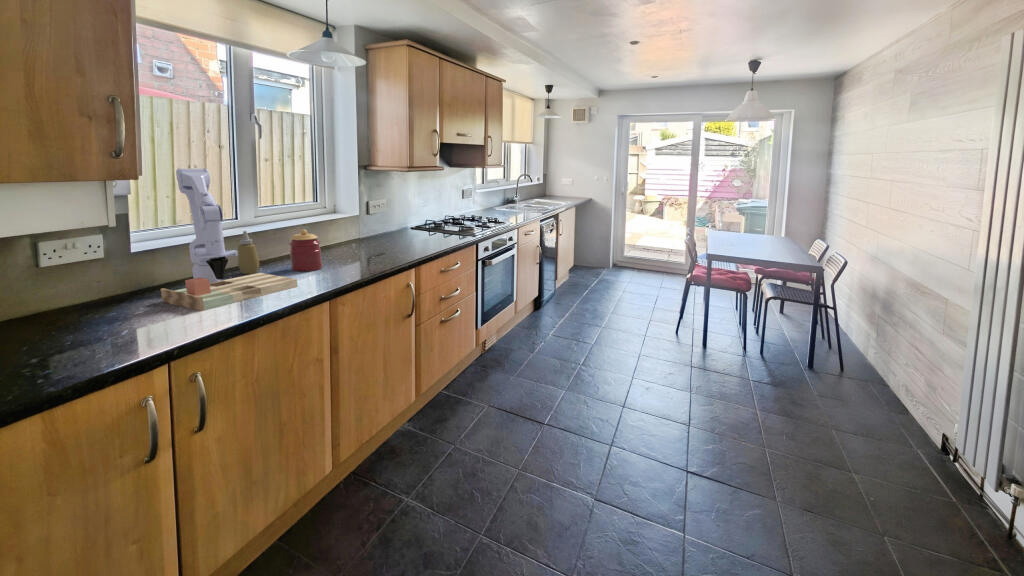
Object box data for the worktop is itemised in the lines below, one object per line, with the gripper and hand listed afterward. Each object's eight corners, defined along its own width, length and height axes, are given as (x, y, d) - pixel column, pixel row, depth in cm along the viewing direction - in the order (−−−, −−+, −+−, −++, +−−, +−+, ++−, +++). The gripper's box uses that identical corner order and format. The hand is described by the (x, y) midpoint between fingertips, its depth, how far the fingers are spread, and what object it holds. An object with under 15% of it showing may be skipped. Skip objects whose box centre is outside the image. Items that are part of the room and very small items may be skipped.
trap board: (162, 301, 170) (160, 289, 169) (260, 279, 202) (258, 269, 200) (201, 311, 160) (199, 297, 159) (297, 286, 192) (296, 275, 191)
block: (187, 294, 168) (184, 280, 167) (202, 291, 172) (199, 277, 171) (196, 296, 166) (194, 281, 164) (210, 293, 170) (208, 278, 169)
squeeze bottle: (254, 270, 219) (249, 229, 215) (264, 272, 215) (259, 231, 210) (235, 273, 213) (230, 231, 208) (245, 276, 208) (240, 233, 204)
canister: (293, 266, 227) (289, 228, 223) (323, 265, 230) (320, 227, 226) (289, 272, 215) (285, 232, 210) (321, 271, 218) (317, 231, 214)
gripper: (200, 244, 164) (206, 284, 167) (241, 239, 176) (246, 276, 180) (187, 242, 167) (193, 282, 171) (228, 237, 180) (233, 274, 183)
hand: (219, 279), depth 175 cm, fingers closed
